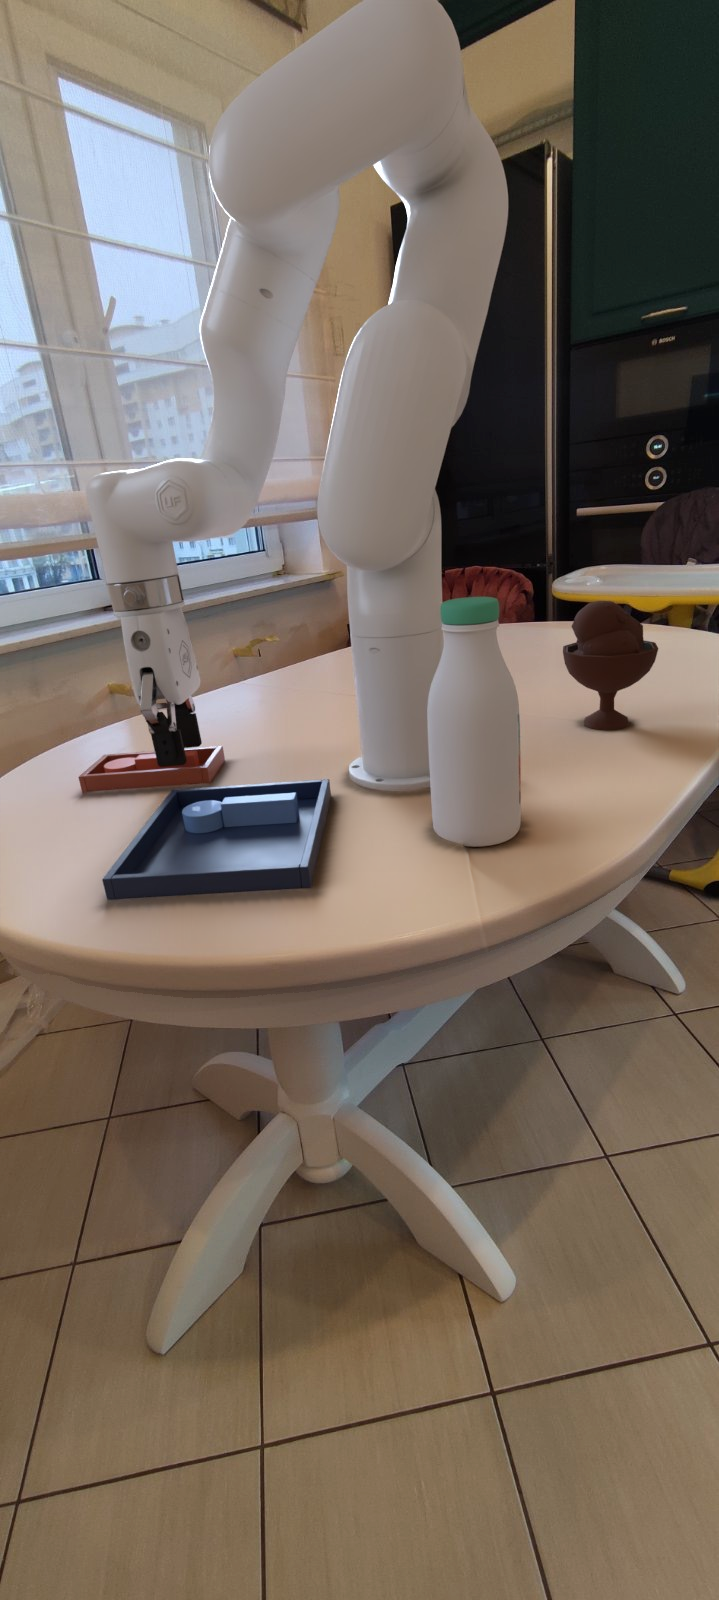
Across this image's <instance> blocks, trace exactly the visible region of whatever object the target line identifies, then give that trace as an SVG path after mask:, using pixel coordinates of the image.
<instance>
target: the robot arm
mask: <svg viewBox="0 0 719 1600" xmlns="http://www.w3.org/2000/svg"><path fill="white" fill-rule="evenodd" d="M465 78H466V77H465V70H464V63H463V54H462V49H461V45H460V41H459V37H458V34H457V31H456V29H455V26H454V24H453V21H452V19H451V17H450V16H449V14H448V12H447V11H446V10H445V8H444V6H443V5H442V4H441V3H440V2H439V1H438V0H362V1H360V2H359V3H357V4H356V5H354V6H353V7H350V9H348V10H347V11H346V12H344V13H343V14H341V15H340V16H339V17H337V18H336V19H335V20H333V21H332V22H330V23H329V24H328V25H327V26H325V27H324V28H322V29H321V30H319V31H318V32H317V33H316V34H314V35H313V36H311V37H310V38H308V39H307V40H306V41H305V42H303V43H301V44H300V45H299V46H298V47H296V48H295V49H294V50H292V51H291V52H289V53H288V54H287V55H285V56H284V57H283V58H282V59H280V60H278V61H277V62H275V63H274V64H273V65H272V66H270V67H269V68H268V69H266V70H265V71H264V72H262V74H260V75H259V76H258V77H256V78H255V79H254V80H252V82H251V83H249V84H248V85H247V86H246V87H245V88H244V89H243V90H242V91H241V92H240V93H239V94H238V95H237V96H235V98H234V99H233V100H232V101H231V102H230V103H229V105H228V106H227V108H226V109H225V110H224V111H223V113H222V114H221V115H220V118H219V119H218V121H217V124H216V125H215V127H214V129H213V132H212V135H211V140H210V143H209V148H208V157H207V160H208V161H207V162H208V163H207V164H208V176H209V177H208V178H209V181H210V185H211V189H212V191H213V193H214V195H215V198H216V200H217V202H218V204H219V205H220V207H221V208H222V209H223V211H224V212H225V214H226V215H228V216H229V221H228V224H227V227H226V231H225V235H224V239H223V242H222V246H221V249H220V252H219V257H218V260H217V263H216V267H215V270H214V274H213V277H212V282H211V283H210V288H209V291H208V294H207V298H206V301H205V305H204V308H203V310H202V314H201V318H200V322H199V334H200V335H199V337H200V343H201V347H202V351H203V355H204V358H205V360H206V363H207V366H208V370H209V373H210V377H211V383H212V392H213V399H212V411H211V417H210V418H211V419H210V425H209V428H208V432H207V436H206V439H205V443H204V445H203V449H202V452H201V455H200V458H199V459H198V458H184V457H183V458H182V457H181V458H173V459H169V460H166V461H162V462H159V463H157V464H156V463H155V464H153V465H150V466H147V467H145V468H140V469H126V470H125V469H124V470H115V471H107V472H102V473H98V474H95V475H93V476H91V477H90V478H89V479H88V480H87V482H86V485H85V494H86V500H87V501H86V502H87V505H88V510H89V514H90V519H91V521H92V522H91V523H92V526H93V531H94V535H95V539H96V543H97V547H98V552H99V555H100V559H101V565H102V568H103V569H102V570H103V573H104V578H105V580H106V584H107V585H106V586H107V591H108V595H109V598H110V599H109V600H110V603H111V607H112V612H113V616H114V617H119V618H120V625H121V626H120V627H121V632H122V633H121V634H122V640H123V646H124V651H125V657H126V662H127V668H128V673H129V678H130V682H131V683H130V684H131V687H132V691H133V694H134V698H135V699H136V703H137V705H139V712H140V714H141V715H142V717H144V720H145V722H146V724H147V727H148V732H149V734H150V736H151V737H150V738H151V741H152V746H153V749H154V750H153V751H155V754H156V759H157V763H158V766H160V767H168V766H179V765H184V764H185V763H186V762H187V759H186V754H185V750H184V749H188V748H200V746H201V745H202V737H201V731H200V726H199V722H198V716H197V713H196V704H195V702H194V699H193V695H194V694H195V693H196V692H197V690H198V689H199V688H200V686H201V684H202V682H201V680H202V679H201V675H200V671H199V667H198V662H197V657H196V654H195V651H194V646H193V641H192V639H191V634H190V630H189V627H188V624H187V623H188V622H187V620H186V617H185V614H184V611H183V608H184V607H186V603H185V600H184V594H183V588H182V583H181V579H180V575H179V568H178V563H177V559H176V553H175V548H174V543H173V542H197V541H205V540H210V539H213V538H221V537H227V536H230V535H233V534H235V533H237V532H238V531H240V530H241V529H242V528H243V527H244V526H245V525H246V524H247V522H248V521H249V520H250V519H251V517H252V514H253V512H254V511H255V508H256V506H257V504H258V501H259V499H260V496H261V494H262V493H261V492H262V490H263V487H264V484H265V482H266V479H267V476H268V473H269V470H270V467H271V464H272V461H273V459H274V456H275V451H276V448H277V443H278V439H279V433H280V426H281V421H282V414H283V410H284V409H283V408H284V402H285V397H286V383H287V376H288V375H287V374H288V370H289V366H290V363H291V360H292V357H293V355H294V351H295V348H296V345H297V342H298V340H299V337H300V333H301V331H302V327H303V325H304V321H305V320H306V319H305V318H306V317H307V316H306V315H307V313H308V310H309V307H310V304H311V301H312V298H313V295H314V292H315V289H316V287H317V284H318V282H319V279H320V275H321V273H322V271H323V267H324V265H325V261H326V258H327V256H328V252H329V249H330V247H331V243H332V240H333V237H334V234H335V231H336V228H337V224H338V219H339V215H340V214H339V213H340V202H341V201H340V189H339V187H341V186H342V185H344V184H345V183H347V182H349V181H350V180H352V179H353V178H355V177H357V176H358V175H360V174H361V173H363V172H364V171H366V170H369V168H371V167H373V168H374V170H375V171H376V172H377V174H378V176H379V177H380V178H381V179H382V181H383V182H385V184H386V185H387V186H388V187H389V188H390V189H391V190H392V191H393V192H394V193H395V194H396V195H397V196H398V197H399V199H400V200H401V201H402V203H403V204H404V207H405V210H406V215H407V223H406V229H405V232H404V235H403V238H402V241H401V245H400V248H399V252H398V256H397V260H396V264H395V269H394V275H393V281H392V287H391V290H390V295H389V300H388V304H387V305H384V306H383V307H381V308H379V309H378V310H376V311H375V312H374V313H373V314H372V315H370V317H368V318H367V319H366V321H364V323H363V324H362V326H361V327H360V328H359V330H358V332H357V333H356V335H355V336H354V338H353V341H352V342H351V345H350V347H349V350H348V353H347V356H346V358H345V362H344V365H343V367H342V368H343V369H342V373H341V376H340V381H339V387H338V392H337V397H336V402H335V406H334V412H333V417H332V422H331V428H330V430H329V431H330V433H329V436H328V440H327V441H328V442H327V446H326V452H325V457H324V461H323V466H322V472H321V476H320V482H319V485H318V486H319V487H318V494H317V502H316V503H317V504H316V517H317V525H318V528H319V532H320V535H321V537H322V539H323V541H324V544H325V545H326V547H327V548H328V550H329V551H330V553H331V554H332V555H333V556H334V557H335V558H336V559H337V560H338V561H340V562H341V563H343V564H344V565H346V594H347V595H346V596H347V610H348V612H347V613H348V623H349V633H350V634H349V635H350V637H349V638H350V647H351V657H352V668H353V669H352V670H353V678H354V679H353V680H354V689H355V699H356V711H357V720H358V721H357V722H358V731H359V743H360V753H361V754H360V756H359V757H357V758H355V759H354V760H353V761H352V762H351V763H350V764H349V766H348V776H349V779H350V780H351V781H352V782H353V783H355V784H357V785H358V786H361V787H363V788H366V789H372V790H377V791H378V790H379V791H388V792H389V791H391V792H400V791H401V792H403V791H404V792H405V791H413V790H415V791H416V790H424V789H428V788H431V787H430V768H429V748H428V719H427V707H428V697H429V691H430V687H431V684H432V681H433V678H434V675H435V673H436V670H437V668H438V665H439V662H440V659H441V656H442V652H443V647H444V641H445V634H444V631H443V630H442V629H441V627H442V621H441V615H440V607H441V604H442V603H443V580H442V579H443V578H442V577H443V576H442V572H443V571H442V513H441V506H440V500H439V496H438V494H437V490H436V486H437V483H438V478H439V475H440V471H441V467H442V463H443V460H444V456H445V453H446V450H447V449H446V448H447V445H448V442H449V438H450V434H451V430H452V428H453V427H454V426H455V424H456V423H457V421H458V420H459V419H460V417H461V415H462V414H463V411H464V409H465V407H466V405H467V402H468V398H469V395H470V389H471V381H472V377H473V372H474V368H475V367H474V366H475V362H476V358H477V354H478V350H479V346H480V343H481V339H482V334H483V331H484V327H485V323H486V320H487V316H488V312H489V307H490V304H491V303H490V302H491V297H492V293H493V289H494V284H495V281H496V276H497V272H498V268H499V265H500V262H501V261H500V260H501V256H502V251H503V249H504V248H503V247H504V243H505V240H506V239H505V238H506V234H507V233H506V232H507V226H508V220H509V192H508V184H507V183H508V182H507V178H506V172H505V169H504V164H503V162H502V159H501V156H500V153H499V151H498V149H497V147H496V145H495V143H494V141H493V139H492V137H491V135H490V134H489V133H488V131H487V129H486V128H485V127H484V125H483V124H482V122H481V121H480V119H479V118H478V116H477V115H476V113H475V112H474V110H473V108H472V106H471V105H470V102H469V97H468V92H467V87H466V79H465ZM158 700H165V701H166V702H159V703H157V701H158ZM164 710H165V711H166V715H165V713H164V712H163V711H164Z"/></svg>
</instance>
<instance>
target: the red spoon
mask: <svg viewBox="0 0 719 1600" xmlns="http://www.w3.org/2000/svg"><path fill="white" fill-rule="evenodd" d="M185 754H186V759H187V762H186V763H185V764H184V765H179V766H168V767H160V766H158V763H157V759H156V754H142V755H139V756H138V757H137V758H121V759H116V760H113V761H110V762H108V763H106V764H105V765H104V770H105V773H114V772H128V771H142V770H156V769H170V768H184V767H198V766H200V765H199V759H198V754H197V751H185Z"/></svg>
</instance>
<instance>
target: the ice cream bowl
mask: <svg viewBox="0 0 719 1600" xmlns="http://www.w3.org/2000/svg"><path fill="white" fill-rule="evenodd" d="M571 629H572V631H573V634H574V636H575V638H576V642H573V643H570V644H569V643H568V644H565V645H563V646H562V655H563V660H564V665H565V667H566V670H567V671H568V674H569V675H570V676H571V677H573V679H575V681H576V682H577V683H579V684H580V685H582V686H583V687H585V688H587V689H590V690H592V691H595V692H597V694H598V696H599V709H598V710H596V711H595V712H592V713H591V714H590V715H587V716H586V717H584V720H583V726H584V727H586V728H589V729H591V730H601V731H613V730H622V729H625V728H626V727H629V726H630V721H629V717H628V716H626V715H625V714H623V713H622V712H620V711H617V710H616V709H615V697H616V696H617V693H618V692H619V691H622V690H625V689H628V688H629V687H632V686H633V685H635V684H636V683H638V682H639V681H640V680H642V679H643V678H644V677H645V676H646V675H647V674H648V673H649V672H650V671H651V670H652V668H653V666H654V664H655V662H656V659H657V655H658V652H659V647H658V645H657V642H655V641H649V640H645V639H644V624H642V623H641V622H640V621H639V620H638V619H636V618H634V617H633V616H632V615H631V614H630V613H629V612H626V611H625V610H624V609H623V607H622V606H621V605H619V604H617V603H615V601H611V600H596V601H593V602H589V603H587V604H586V605H585V606H583V607H582V608H580V609H579V611H578V612H577V613H576V614H575V617H574V619H573V622H572V624H571Z"/></svg>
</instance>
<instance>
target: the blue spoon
mask: <svg viewBox="0 0 719 1600" xmlns="http://www.w3.org/2000/svg"><path fill="white" fill-rule="evenodd" d="M182 815H183V820H184V825H185V829H186V831H188V832H190V833H196V834H200V833H208V832H212V831H216V830H218V829H220V828H222V827H223V826H224V827H238V826H253V825H269V824H284V823H297V821H298V817H299V809H298V802H297V794H296V793H283V794H269V795H254V796H239V797H225V798H224V800H223V801H222V802H220V801H215V800H207V801H200V802H196V803H193V804H190V805H188V806H186V807H185V808H184V809H183V810H182Z"/></svg>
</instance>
